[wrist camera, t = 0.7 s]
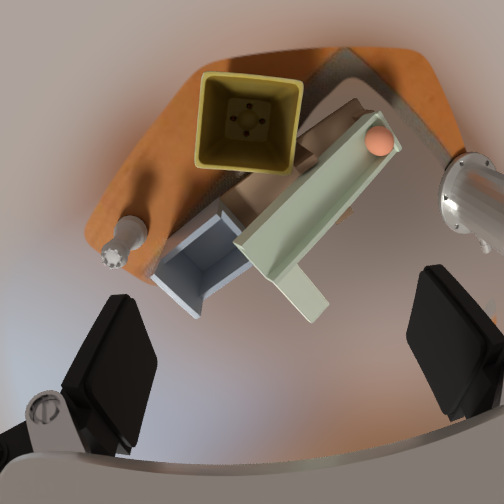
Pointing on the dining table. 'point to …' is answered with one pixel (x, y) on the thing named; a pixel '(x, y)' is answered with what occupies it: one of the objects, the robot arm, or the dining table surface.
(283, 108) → the flower pot
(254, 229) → the lever
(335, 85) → the dining table surface
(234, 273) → the blue-grey box
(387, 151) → the ball
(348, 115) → the catapult base
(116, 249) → the rook chess piece
